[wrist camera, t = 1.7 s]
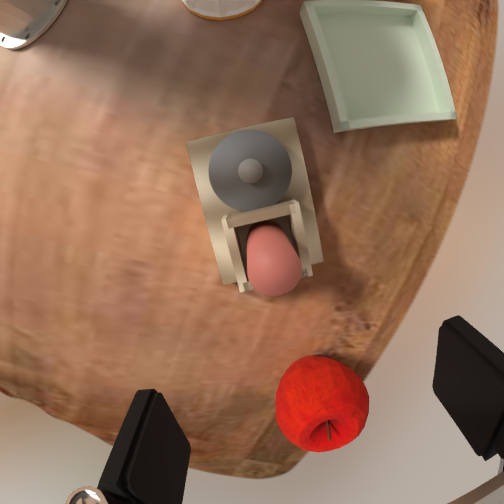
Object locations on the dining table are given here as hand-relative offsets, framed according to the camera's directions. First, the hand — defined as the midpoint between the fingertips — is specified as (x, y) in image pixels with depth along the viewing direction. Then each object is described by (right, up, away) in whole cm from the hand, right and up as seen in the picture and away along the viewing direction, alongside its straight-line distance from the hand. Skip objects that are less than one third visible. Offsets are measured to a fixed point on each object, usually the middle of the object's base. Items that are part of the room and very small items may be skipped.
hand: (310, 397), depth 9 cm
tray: (+12, +24, +17) cm, 32 cm away
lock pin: (0, +6, +20) cm, 21 cm away
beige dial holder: (-1, +10, +21) cm, 23 cm away
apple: (+5, -10, +27) cm, 29 cm away
